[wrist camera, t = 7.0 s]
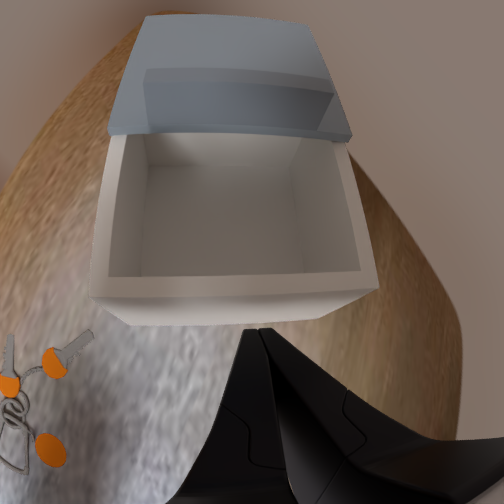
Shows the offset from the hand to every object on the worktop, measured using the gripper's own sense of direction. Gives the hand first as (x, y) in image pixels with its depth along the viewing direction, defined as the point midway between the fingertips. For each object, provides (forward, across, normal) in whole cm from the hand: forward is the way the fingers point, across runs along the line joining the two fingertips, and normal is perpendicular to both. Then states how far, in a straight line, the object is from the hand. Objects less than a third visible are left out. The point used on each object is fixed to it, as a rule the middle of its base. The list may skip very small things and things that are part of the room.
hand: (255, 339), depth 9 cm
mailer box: (+13, 0, +2) cm, 13 cm away
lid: (+12, 0, -10) cm, 16 cm away
